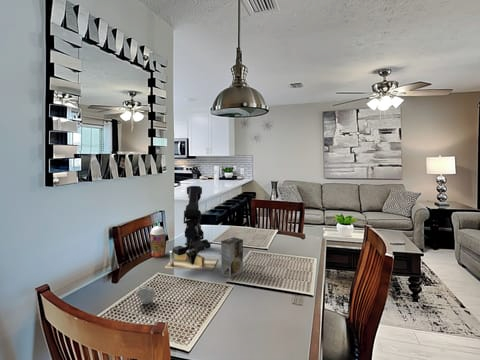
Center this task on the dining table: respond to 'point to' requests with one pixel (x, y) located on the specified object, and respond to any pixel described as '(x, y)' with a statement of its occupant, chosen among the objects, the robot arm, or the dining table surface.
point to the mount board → (194, 265)
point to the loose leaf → (199, 260)
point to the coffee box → (231, 257)
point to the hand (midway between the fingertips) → (192, 264)
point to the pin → (171, 258)
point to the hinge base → (181, 257)
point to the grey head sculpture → (145, 294)
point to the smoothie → (157, 241)
